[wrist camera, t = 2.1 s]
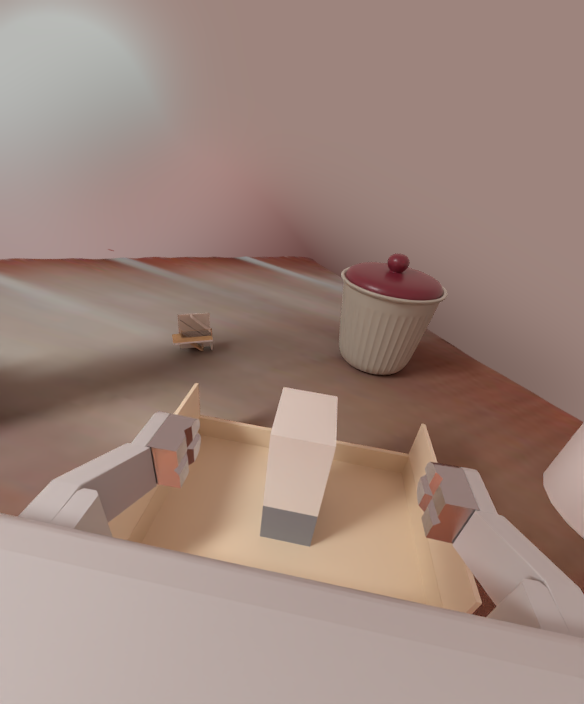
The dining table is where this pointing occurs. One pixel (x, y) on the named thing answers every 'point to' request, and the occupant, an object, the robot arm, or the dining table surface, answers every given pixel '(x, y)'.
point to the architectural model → (194, 331)
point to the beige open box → (332, 523)
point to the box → (298, 465)
